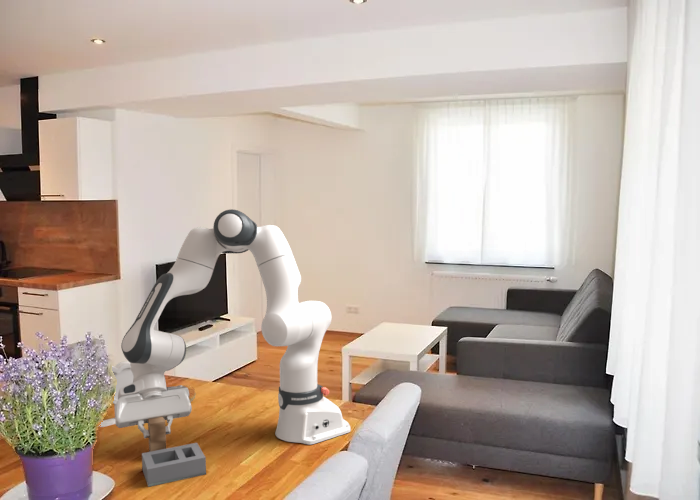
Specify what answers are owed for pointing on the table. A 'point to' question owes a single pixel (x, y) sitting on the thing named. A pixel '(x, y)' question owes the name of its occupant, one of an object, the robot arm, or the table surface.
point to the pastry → (191, 392)
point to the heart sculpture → (119, 385)
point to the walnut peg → (157, 434)
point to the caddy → (173, 464)
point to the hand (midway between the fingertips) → (157, 435)
